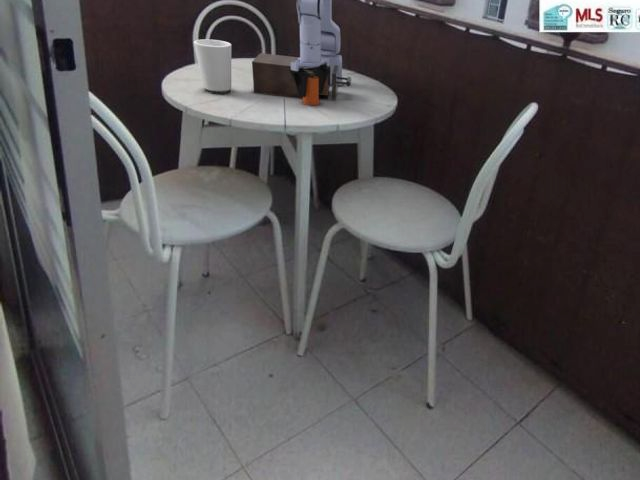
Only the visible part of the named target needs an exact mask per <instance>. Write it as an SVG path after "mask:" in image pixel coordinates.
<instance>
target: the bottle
mask: <svg viewBox="0 0 640 480" xmlns="http://www.w3.org/2000/svg"><path fill="white" fill-rule="evenodd" d="M308 73H310V74H309V77H308V81H307V91H306V97H303V98H302V104H304V105H307V106H318V105H319V102H320V95H319V78H318V77H316V76H314V73H313V72H308Z"/></svg>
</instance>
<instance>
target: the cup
mask: <svg viewBox="0 0 640 480" xmlns="http://www.w3.org/2000/svg"><path fill="white" fill-rule="evenodd" d="M193 45H194V50H195V54H196V60H197V63H198V67H199V68H198V69H199V72H200V77H201V81H202V85H203V89H204V91H206V92H209V93H210V94H216V93H217V92H219V93H220V94H222V95H225V94H227V93H230V92H231V91H232V43H230V42H228V41H224V40H219V39H210V38H209V39H208V38H207V39H205V38H204V39H196V40H194V41H193Z"/></svg>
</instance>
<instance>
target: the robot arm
mask: <svg viewBox="0 0 640 480" xmlns="http://www.w3.org/2000/svg"><path fill="white" fill-rule="evenodd" d="M332 2H333V1H332V0H296V11H297V22H298V24H299V57H298V60H296V61H294V62H291V68H290V73H291V75H292V76H293V78H294V81H295V83H296V86H297V90H298V94H299V96H301V97H306V91H307V81H308V77H309V74H310V73H308V72H305V70H304V69H308V68H312V70H313V73H314V76H316V77H318V78H319V93H322V92H323V88H324V84H325V81H326V78H327V76H328V74H329V72H330V86H332V73H333V70H334V66H335V65H337V66H339V68H338V77H343V57H342V55H341V54H339V53H340V52H341V43H342V41H341V40H342V39H341V38H342V37H341V28H340V27H339V25H338V24H336V22H334V20H333V18H332V14H333V11H332V10H333V9H332V7H333V6H332V5H333V3H332ZM326 66H330V68H329V67H326ZM338 81H341V82H343V80H341V79H338ZM339 86H341V87H342V86H343V84H338V87H339Z"/></svg>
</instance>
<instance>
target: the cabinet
mask: <svg viewBox="0 0 640 480" xmlns="http://www.w3.org/2000/svg"><path fill="white" fill-rule="evenodd" d="M298 58H299V56H298V57H297V56H288V55H282V54H281V55H280V54H272V53H263V52H260V53H259V54H258V55H257V56H256V57H255V58H254V59H253V60H252V61H251V70H252V82H253V84H252V85H253V93H255V94H260V95H261V94H263V95H272V96H280V97H291V98H300V99H303V97H301V96H299V94H298V90H297V86H296V83H295V81H294V78H293V76H292V75H291V73H290V68H291V62H294V61H296V60H298Z"/></svg>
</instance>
